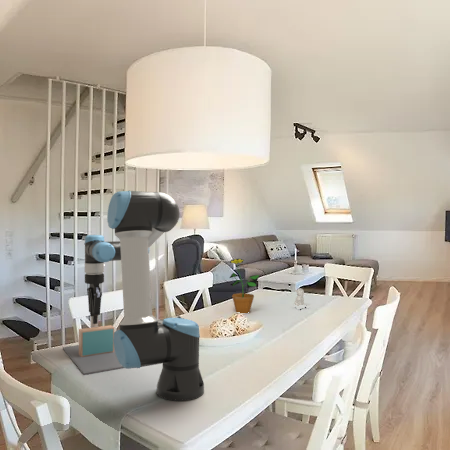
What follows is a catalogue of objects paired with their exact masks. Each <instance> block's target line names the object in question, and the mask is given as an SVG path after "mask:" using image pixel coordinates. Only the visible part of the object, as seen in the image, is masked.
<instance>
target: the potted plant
mask: <svg viewBox="0 0 450 450" xmlns="http://www.w3.org/2000/svg"><path fill="white" fill-rule="evenodd" d="M244 261H245V260H244V259H242V258H235V259H231V260H229V262H228V263H230V264H234V265H235V264H236V267H237V273H238V274H239V275H238V274H236V273H235V272H232V274H231V275H230V276H229V279H232V278H234V279H235V280H236V281H234V282H232V283H230V286H231V287H234V286H236V285H238V284H239V283H241V286H242V292H239V293H238V292H237V293H233V294H232V295H231V296H232V301H233V305H234V308H235V312H240V313H248V312H249V313H251V309H252V305H253V301H254V298H255V296H254V294H252V293H251V294H250V293H247V292H245V291H244V287H245V286H246V285H247V289H250V288H254V287H256V286H257V282H258V279H259V278H260V274H257V275H256V274H255V275H250V276H249V277H248V279H247V281H246V282H245V284H243V279H242V276H241V274H240V270H239V267H238V264H241V263H244ZM236 277H239V278H240V280H238V279H237V278H236ZM250 279H251V281H250ZM244 292H245V293H244ZM249 313H248V314H249Z"/></svg>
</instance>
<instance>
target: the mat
mask: <svg viewBox="0 0 450 450" xmlns="http://www.w3.org/2000/svg"><path fill="white" fill-rule="evenodd" d="M62 350H63V351H64V352H65V353H66V354H67V356H68V357H69V358H70V359H71V361H72V362H73V363H74V364H75V366H76V365H77V366H78V367H77V366H76V367H77V368H78V369H79V371H80V370H81V371H80V372H81V373H82V374H83V375H84V376H86V375H92V374H98V373H103V372H109V371H114V370H121V369H125V368H124V367H122V366H121V364H120V363H119V361H118V359H117V356H116V353H115V349H114V352H111V353H104V354H98V355H91V356H85V357H81V356H80V355H79V344H77V345H69V346H62Z"/></svg>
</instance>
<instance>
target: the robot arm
mask: <svg viewBox="0 0 450 450" xmlns="http://www.w3.org/2000/svg"><path fill="white" fill-rule="evenodd" d="M107 207H108V208H107V218H106V220H107V221H106V222H107V224H108V228H110V229H112V230H114V236H116V238H117V239H118V241H117V240H115V241H111V240H110V241H105V236H104V235H102V234H87V235H86V236H85V237H84V273H85V274H84V283H85V284H87V285H88V286H89V287H87V289H86V290H87V299H88V301H87V303H88V313H89V316H90V328H92V327H99V315H101V307H102V306H101V305H102V298H103V297H102V296H103V292H101V291H102V290H101V287H100V284H103V283H105V274H104V272H105V267H106V264H105V263H109V262H113V261H120V264H121V279H122V280H121V281H122V282H121V284H122V300H123V302H122V303H123V319H122V320H121V321H120V322H119V329H117V330H116V331H115V330H114V338H113V342H114V349H115V353H116V356H117V359H118V361H119V363H120V364H121V366H122V367H124V368H123V369H128V370H131V369H140V368H143V367H148V366H149V367H150V366H154V365H160V364H162V367H161V368H162V369H161V372H160V374H159V378H158V380H157V384H156V394H157V395H158V397H160V398H163V399H164V400H169V401H176V402H177V401H178V402H179V401H180V402H185V401H190V400H194V399H197V398H200V397H201V396H202V395H204V392H205V382H204V379H203V376H202V373H201V370H200V338H201V336H200V326H199V324H198V323H197V322H196V321H193V320H192V319H187V318H184V319H183V317H181V318H176V317H172V318H171V317H166V318H164V320H163V319H162V320H163V322H162V324H163V325H158V320H159V319H158V318H156V317H155V316H154V315H153V301H152V286H151V285H152V283H151V270H150V269H151V268H150V267H151V266H150V247H151V246H152V245H154V244H155V243H156V242H157V240H158V239H160V237H161V236H162V235H163V234H164V233H168V232H170V231H172V230H173V228H175V227H176V226H177V224H178V223H179V220H180V208H179V204H178V203H177V201H176V200H175V199H174V198H173V196H171V195H169V194H168V193H164V192H162V191H142V190H141V191H137V190H124V191H122V190H121V191H116V192H114V193H113V194H112V196H111V198H110V200H109V203H108V206H107Z"/></svg>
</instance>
